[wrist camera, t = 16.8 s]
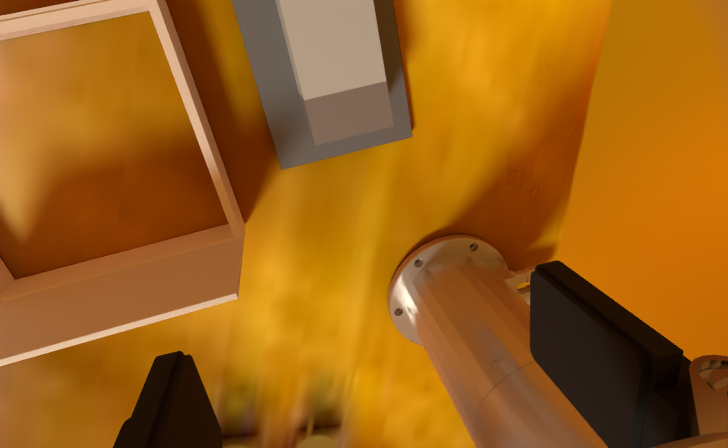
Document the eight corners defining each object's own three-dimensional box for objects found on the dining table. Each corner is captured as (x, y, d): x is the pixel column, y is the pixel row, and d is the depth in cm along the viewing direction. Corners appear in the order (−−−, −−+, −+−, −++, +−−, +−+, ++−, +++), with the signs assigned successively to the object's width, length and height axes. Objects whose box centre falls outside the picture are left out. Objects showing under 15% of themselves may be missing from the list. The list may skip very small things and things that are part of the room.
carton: (162, -9, 27) (105, -37, 18) (245, 226, 35) (238, 298, 25) (-149, 52, 25) (-412, 59, 15) (11, 288, 33) (-98, 394, 23)
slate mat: (373, -115, 28) (375, -119, 27) (410, 135, 35) (412, 136, 34) (207, -86, 26) (205, -89, 26) (281, 167, 34) (281, 169, 33)
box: (344, -65, 28) (359, -85, 23) (376, 114, 33) (394, 126, 29) (262, -49, 27) (262, -67, 23) (308, 131, 32) (315, 145, 28)
